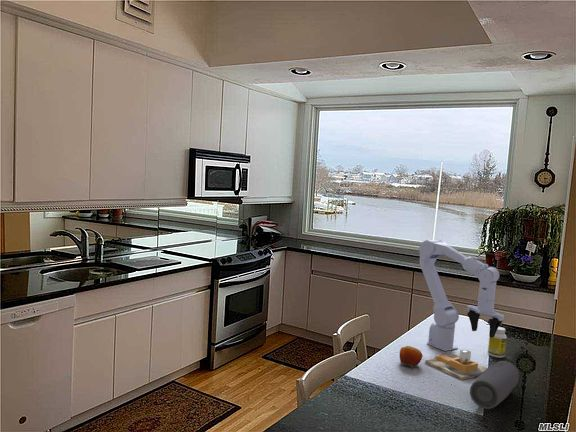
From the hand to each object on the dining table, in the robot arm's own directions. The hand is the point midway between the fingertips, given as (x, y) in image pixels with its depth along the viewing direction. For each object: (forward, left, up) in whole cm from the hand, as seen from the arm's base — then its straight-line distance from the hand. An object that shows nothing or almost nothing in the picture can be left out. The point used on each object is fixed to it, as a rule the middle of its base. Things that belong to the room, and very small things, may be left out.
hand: (482, 333), depth 182 cm
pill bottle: (0, +10, -10) cm, 14 cm away
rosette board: (+2, -16, -10) cm, 19 cm away
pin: (+5, -17, -9) cm, 19 cm away
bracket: (+1, -17, -9) cm, 19 cm away
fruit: (-7, -31, -10) cm, 33 cm away
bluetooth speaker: (+24, -27, -10) cm, 38 cm away
